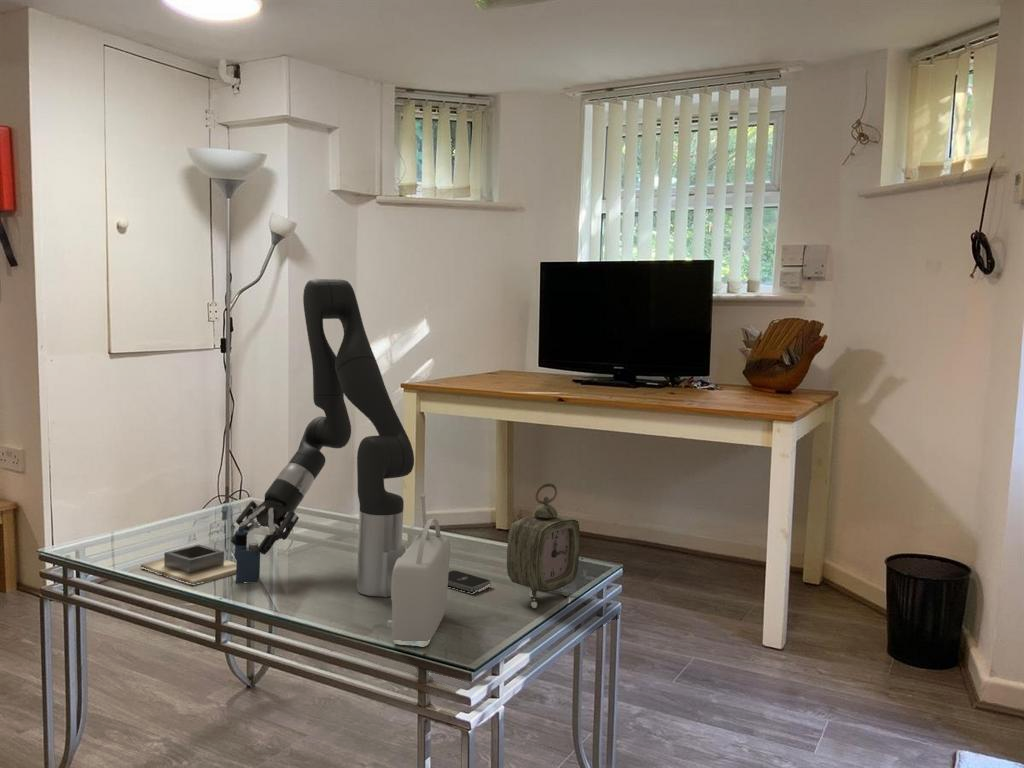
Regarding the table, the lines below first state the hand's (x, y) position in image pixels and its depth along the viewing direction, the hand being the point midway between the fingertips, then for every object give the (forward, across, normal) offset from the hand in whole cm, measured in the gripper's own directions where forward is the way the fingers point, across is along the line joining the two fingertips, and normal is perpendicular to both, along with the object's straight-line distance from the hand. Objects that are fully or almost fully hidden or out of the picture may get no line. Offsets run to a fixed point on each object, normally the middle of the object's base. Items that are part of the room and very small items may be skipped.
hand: (247, 548), depth 171 cm
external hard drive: (-14, +37, +25) cm, 47 cm away
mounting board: (+7, -15, +4) cm, 17 cm away
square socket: (+7, -15, +4) cm, 17 cm away
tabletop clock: (-17, +55, +27) cm, 64 cm away
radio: (+4, +45, +6) cm, 46 cm away
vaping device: (+5, 0, +5) cm, 7 cm away
